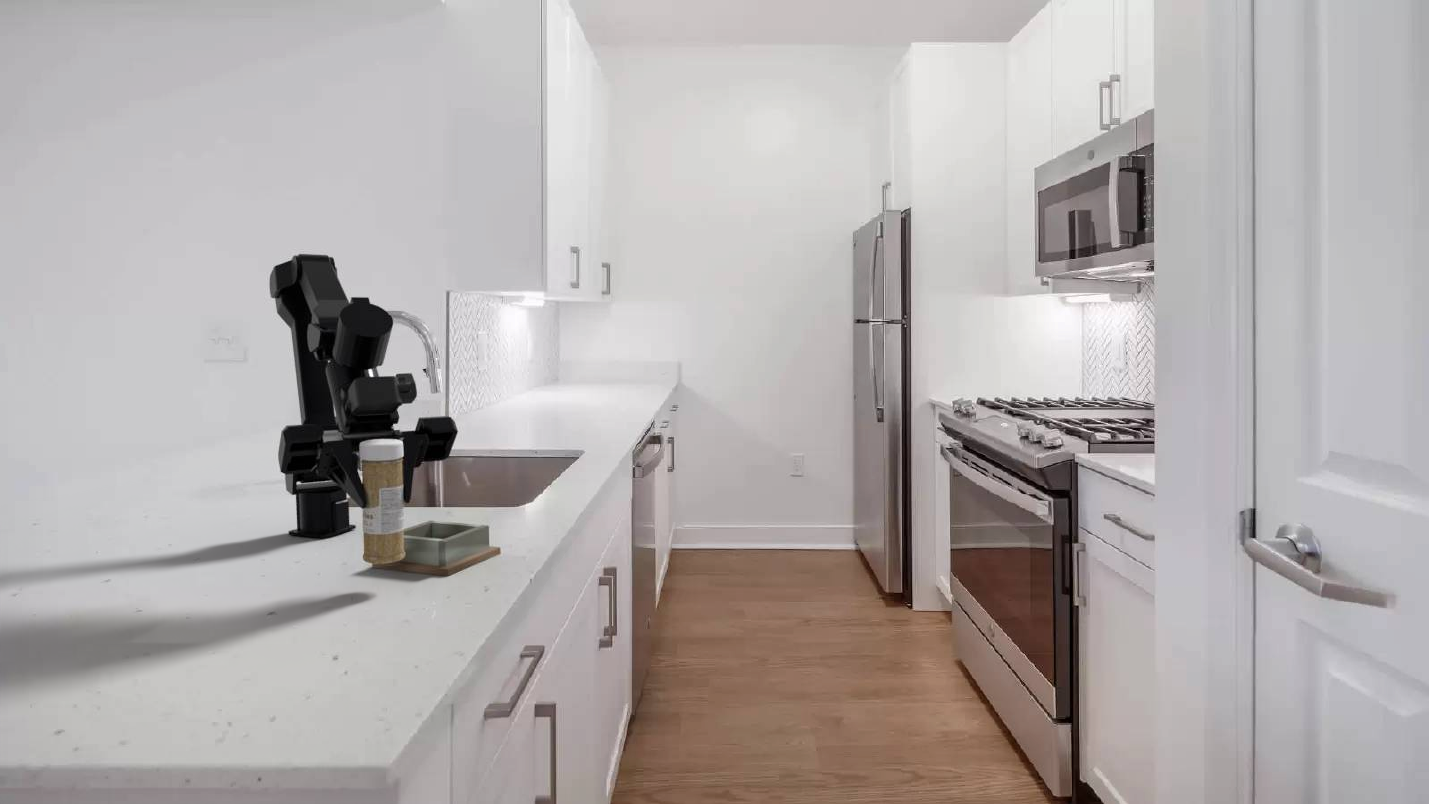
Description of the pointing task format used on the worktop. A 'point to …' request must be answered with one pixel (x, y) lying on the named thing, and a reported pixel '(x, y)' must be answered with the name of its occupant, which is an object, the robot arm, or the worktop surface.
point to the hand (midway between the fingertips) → (386, 503)
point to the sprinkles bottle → (383, 500)
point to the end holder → (443, 548)
